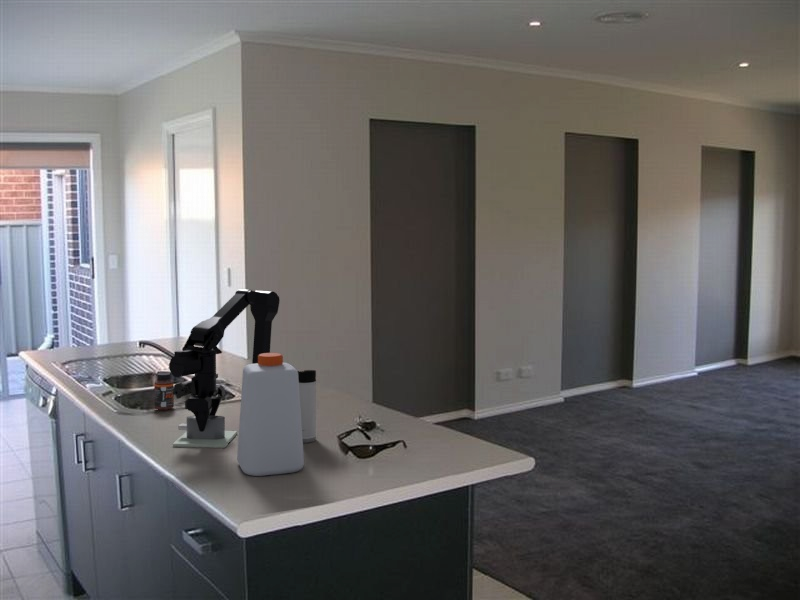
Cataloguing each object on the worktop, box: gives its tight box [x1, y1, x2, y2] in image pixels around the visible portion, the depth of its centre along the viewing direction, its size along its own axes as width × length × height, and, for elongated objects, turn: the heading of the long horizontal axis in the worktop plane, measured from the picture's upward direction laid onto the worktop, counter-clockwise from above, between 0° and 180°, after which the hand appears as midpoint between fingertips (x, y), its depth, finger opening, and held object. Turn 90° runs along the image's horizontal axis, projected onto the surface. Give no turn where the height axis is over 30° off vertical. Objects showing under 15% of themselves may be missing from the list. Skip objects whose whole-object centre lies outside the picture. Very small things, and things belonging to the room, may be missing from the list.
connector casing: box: [177, 414, 226, 439], centre depth 215 cm, size 12×4×6 cm, turn 89°
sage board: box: [172, 430, 238, 449], centre depth 215 cm, size 14×14×1 cm
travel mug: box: [297, 369, 317, 444], centre depth 215 cm, size 6×7×20 cm
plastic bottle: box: [236, 352, 305, 477], centre depth 191 cm, size 15×15×28 cm
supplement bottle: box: [153, 372, 175, 411], centre depth 250 cm, size 6×6×11 cm
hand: (205, 427), depth 215 cm, fingers open, 8 cm apart
